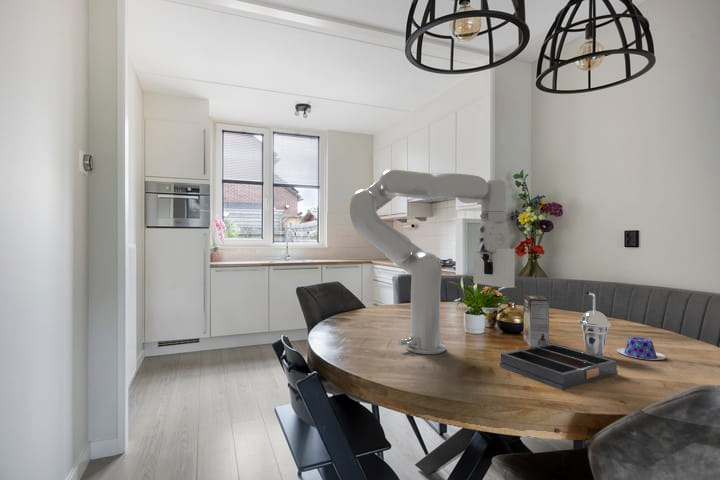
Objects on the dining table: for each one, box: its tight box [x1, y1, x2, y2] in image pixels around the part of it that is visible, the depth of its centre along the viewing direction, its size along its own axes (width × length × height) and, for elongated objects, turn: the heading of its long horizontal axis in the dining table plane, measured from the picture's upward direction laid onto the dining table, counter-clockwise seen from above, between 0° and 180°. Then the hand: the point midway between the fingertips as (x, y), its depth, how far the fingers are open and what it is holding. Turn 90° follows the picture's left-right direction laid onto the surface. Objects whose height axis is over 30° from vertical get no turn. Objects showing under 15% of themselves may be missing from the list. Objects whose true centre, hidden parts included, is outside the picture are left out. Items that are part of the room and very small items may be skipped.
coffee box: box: [523, 295, 550, 348], centre depth 124 cm, size 9×6×16 cm
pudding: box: [616, 336, 667, 361], centre depth 112 cm, size 12×12×5 cm
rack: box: [499, 343, 619, 391], centre depth 98 cm, size 23×19×4 cm
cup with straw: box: [578, 291, 612, 358], centre depth 111 cm, size 8×9×20 cm
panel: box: [472, 247, 516, 289], centre depth 118 cm, size 4×14×12 cm, turn 27°
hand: (493, 273), depth 118 cm, fingers closed on panel, 3 cm apart
